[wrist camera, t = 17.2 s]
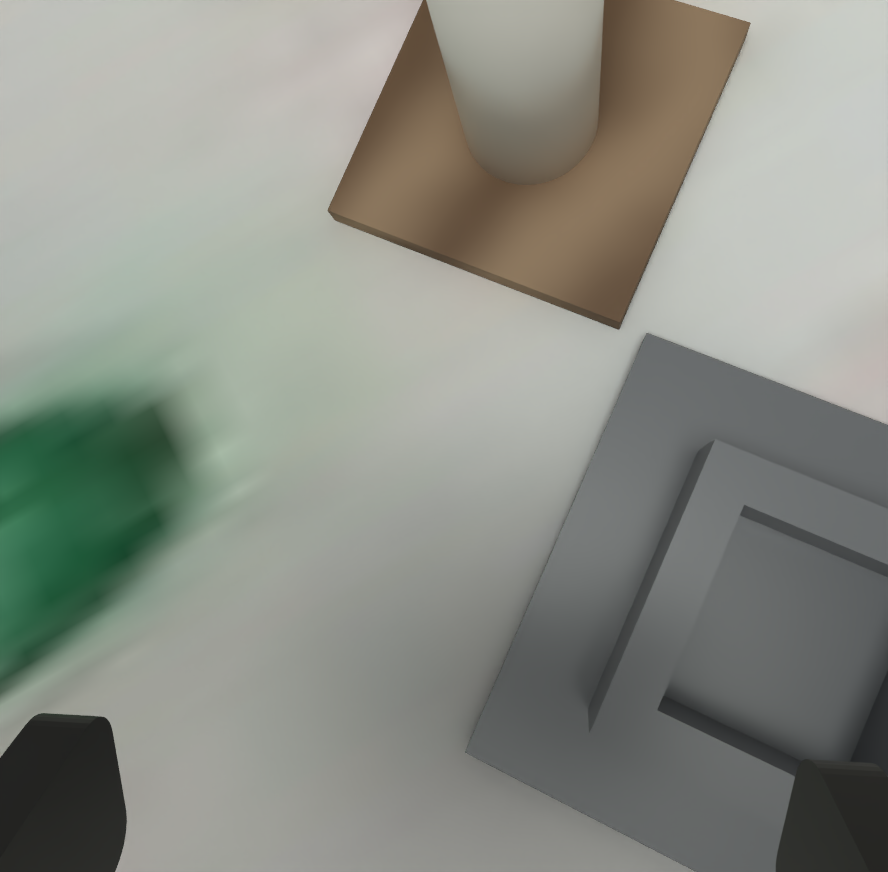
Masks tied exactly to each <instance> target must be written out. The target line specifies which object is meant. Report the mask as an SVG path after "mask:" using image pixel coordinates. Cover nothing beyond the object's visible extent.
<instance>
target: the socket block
mask: <svg viewBox="0 0 888 872" xmlns="http://www.w3.org/2000/svg"><path fill="white" fill-rule="evenodd" d="M465 753H467V754H469V755H471V756H473V757H475V758H477V759H479V760H481V761H482V762H484V763H486V764H488V765H490V766H492V767H494V768H496V769H498V770H500V771H502V772H504V773H506V774H508V775H510V776H512V777H513V778H515V779H517V780H519V781H521V782H523V783H525V784H527V785H529V786H531V787H533V788H535V789H537V790H539V791H541V792H543V793H544V794H546V795H548V796H550V797H552V798H554V799H556V800H558V801H560V802H562V803H564V804H566V805H568V806H570V807H572V808H574V809H576V810H577V811H579V812H581V813H583V814H585V815H587V816H589V817H591V818H593V819H595V820H597V821H599V822H601V823H603V824H605V825H607V826H608V827H610V828H612V829H614V830H616V831H618V832H620V833H622V834H624V835H626V836H628V837H630V838H632V839H634V840H636V841H638V842H639V843H641V844H643V845H645V846H647V847H649V848H651V849H653V850H655V851H657V852H659V853H661V854H663V855H665V856H667V857H669V858H670V859H672V860H674V861H676V862H678V863H680V864H682V865H684V866H686V867H688V868H690V869H692V870H694V871H696V872H776V857H777V852H778V848H779V843H780V839H781V835H782V831H783V826H784V822H785V818H786V813H787V809H788V805H789V801H790V796H791V792H792V788H793V784H794V779H795V775H796V772H797V768H798V766H799V764H800V763H801V762H802V761H803V760H805V759H812V760H830V761H848V762H865V763H874V764H876V765H878V766H879V767H880V768H881V769H882V770H883V771H884V772H885V774H886V775H887V777H888V425H886V424H884V423H881V422H878V421H876V420H873V419H871V418H868V417H865V416H863V415H860V414H857V413H855V412H852V411H850V410H847V409H844V408H842V407H839V406H837V405H834V404H831V403H829V402H826V401H824V400H821V399H818V398H816V397H813V396H811V395H808V394H805V393H803V392H800V391H797V390H795V389H792V388H790V387H787V386H784V385H782V384H779V383H777V382H774V381H771V380H769V379H766V378H764V377H761V376H758V375H756V374H753V373H750V372H748V371H745V370H743V369H740V368H737V367H735V366H732V365H730V364H727V363H724V362H722V361H719V360H717V359H714V358H711V357H709V356H706V355H704V354H701V353H698V352H696V351H693V350H690V349H688V348H685V347H683V346H680V345H677V344H675V343H672V342H670V341H667V340H664V339H662V338H659V337H657V336H654V335H651V334H649V333H646V336H645V338H644V340H643V343H642V345H641V347H640V350H639V352H638V354H637V357H636V359H635V361H634V363H633V366H632V368H631V370H630V373H629V375H628V377H627V380H626V382H625V384H624V386H623V389H622V391H621V393H620V396H619V398H618V400H617V403H616V405H615V407H614V410H613V412H612V414H611V416H610V419H609V421H608V423H607V426H606V428H605V430H604V433H603V435H602V437H601V440H600V442H599V444H598V446H597V449H596V451H595V453H594V456H593V458H592V460H591V463H590V465H589V467H588V469H587V472H586V474H585V476H584V479H583V481H582V483H581V486H580V488H579V490H578V493H577V495H576V497H575V499H574V502H573V504H572V506H571V509H570V511H569V513H568V516H567V518H566V520H565V523H564V525H563V527H562V529H561V532H560V534H559V536H558V539H557V541H556V543H555V546H554V548H553V550H552V553H551V555H550V557H549V559H548V562H547V564H546V566H545V569H544V571H543V573H542V576H541V578H540V580H539V582H538V585H537V587H536V589H535V592H534V594H533V596H532V599H531V601H530V603H529V606H528V608H527V610H526V612H525V615H524V617H523V619H522V622H521V624H520V626H519V629H518V631H517V633H516V636H515V638H514V640H513V642H512V645H511V647H510V649H509V652H508V654H507V656H506V659H505V661H504V663H503V666H502V668H501V670H500V672H499V675H498V677H497V679H496V682H495V684H494V686H493V689H492V691H491V693H490V695H489V698H488V700H487V702H486V705H485V707H484V709H483V712H482V714H481V716H480V719H479V721H478V723H477V725H476V728H475V730H474V732H473V735H472V737H471V739H470V742H469V744H468V746H467V749H466V751H465Z"/></svg>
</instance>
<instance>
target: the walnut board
mask: <svg viewBox="0 0 888 872" xmlns="http://www.w3.org/2000/svg"><path fill="white" fill-rule="evenodd" d="M750 24H751V23H750V22H746V21H743V20H739V19H736V18H733V17H729V16H726V15H722V14H719V13H716V12H712V11H709V10H706V9H702V8H699V7H695V6H692V5H689V4H685V3H682V2H678V1H675V0H604V11H603V32H602V53H601V74H600V94H599V115H598V127H597V131H596V135H595V138H594V141H593V143H592V145H591V147H590V149H589V151H588V152H587V153H586V155H585V156H584V158H583V159H582V160H581V161H580V162H579V163H578V164H577V165H576V166H575V167H574V168H572V169H571V170H570V171H568V172H567V173H565V174H564V175H562V176H560V177H558V178H556V179H554V180H551V181H548V182H545V183H540V184H533V185H519V184H513V183H509V182H505V181H502V180H500V179H498V178H496V177H494V176H492V175H491V174H489V173H488V172H487V171H485V170H484V169H483V168H482V167H481V166H480V165H479V164H478V163H477V162H476V160H475V159H474V157H473V156H472V154H471V152H470V150H469V147H468V144H467V141H466V138H465V134H464V131H463V127H462V124H461V120H460V117H459V113H458V110H457V106H456V103H455V99H454V96H453V92H452V89H451V85H450V82H449V78H448V75H447V71H446V68H445V65H444V61H443V58H442V54H441V51H440V47H439V44H438V40H437V37H436V33H435V30H434V26H433V23H432V19H431V16H430V12H429V9H428V5H427V2H426V0H423V2H422V4H421V6H420V8H419V10H418V13H417V15H416V17H415V19H414V21H413V24H412V26H411V28H410V30H409V32H408V35H407V37H406V39H405V41H404V43H403V46H402V48H401V50H400V52H399V54H398V57H397V59H396V61H395V63H394V65H393V68H392V70H391V72H390V74H389V76H388V78H387V81H386V83H385V85H384V87H383V89H382V92H381V94H380V96H379V98H378V100H377V103H376V105H375V107H374V109H373V111H372V114H371V116H370V118H369V120H368V122H367V125H366V127H365V129H364V131H363V133H362V136H361V138H360V140H359V142H358V144H357V147H356V149H355V151H354V153H353V155H352V158H351V160H350V162H349V164H348V166H347V169H346V171H345V173H344V175H343V177H342V180H341V182H340V184H339V186H338V188H337V190H336V193H335V195H334V197H333V199H332V201H331V204H330V206H329V208H328V212H329V213H330V214H331V216H332V217H333V218H334V219H335V220H336V221H339V222H341V223H344V224H346V225H349V226H351V227H354V228H357V229H359V230H362V231H364V232H367V233H370V234H372V235H375V236H377V237H380V238H383V239H385V240H388V241H390V242H393V243H396V244H398V245H401V246H403V247H406V248H409V249H411V250H414V251H416V252H419V253H422V254H424V255H427V256H429V257H432V258H435V259H437V260H440V261H442V262H445V263H448V264H450V265H453V266H455V267H458V268H461V269H463V270H466V271H468V272H471V273H473V274H476V275H479V276H481V277H484V278H486V279H489V280H492V281H494V282H497V283H499V284H502V285H505V286H507V287H510V288H512V289H515V290H518V291H520V292H523V293H525V294H528V295H531V296H533V297H536V298H538V299H541V300H544V301H546V302H549V303H551V304H554V305H557V306H559V307H562V308H564V309H567V310H570V311H572V312H575V313H577V314H580V315H583V316H585V317H588V318H590V319H593V320H595V321H598V322H601V323H603V324H606V325H608V326H611V327H614V328H616V329H619V328H620V326H621V323H622V321H623V319H624V316H625V314H626V312H627V310H628V307H629V305H630V303H631V300H632V298H633V296H634V294H635V291H636V289H637V287H638V284H639V282H640V280H641V277H642V275H643V273H644V271H645V268H646V266H647V264H648V261H649V259H650V257H651V254H652V252H653V250H654V248H655V245H656V243H657V241H658V238H659V236H660V234H661V232H662V229H663V227H664V225H665V222H666V220H667V218H668V215H669V213H670V211H671V209H672V206H673V204H674V202H675V199H676V197H677V195H678V192H679V190H680V188H681V186H682V183H683V181H684V179H685V176H686V174H687V172H688V169H689V167H690V165H691V163H692V160H693V158H694V156H695V153H696V151H697V149H698V147H699V144H700V142H701V140H702V137H703V135H704V133H705V130H706V128H707V126H708V124H709V121H710V119H711V117H712V114H713V112H714V110H715V107H716V105H717V103H718V101H719V98H720V96H721V94H722V91H723V89H724V87H725V84H726V82H727V80H728V78H729V75H730V73H731V71H732V68H733V66H734V64H735V62H736V59H737V57H738V55H739V52H740V50H741V48H742V45H743V43H744V41H745V38H746V35H747V32H748V29H749V26H750Z"/></svg>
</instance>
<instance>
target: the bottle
mask: <svg viewBox="0 0 888 872" xmlns="http://www.w3.org/2000/svg"><path fill="white" fill-rule="evenodd" d="M426 2H427V5H428V9H429V12H430V16H431V19H432V23H433V26H434V30H435V33H436V37H437V40H438V44H439V47H440V51H441V54H442V58H443V61H444V65H445V68H446V71H447V75H448V78H449V82H450V85H451V89H452V92H453V96H454V99H455V103H456V106H457V110H458V113H459V117H460V120H461V124H462V127H463V131H464V134H465V138H466V141H467V144H468V147H469V150H470V152H471V154H472V156H473V157H474V159H475V160H476V162H477V163H478V164H479V165H480V166H481V167H482V168H483V169H484V170H485V171H487V172H488V173H489V174H491V175H492V176H494V177H496V178H498V179H500V180H502V181H505V182H509V183H513V184H519V185H533V184H540V183H545V182H548V181H551V180H554V179H556V178H558V177H560V176H562V175H564V174H565V173H567V172H568V171H570V170H571V169H572V168H574V167H575V166H576V165H577V164H578V163H579V162H580V161H581V160H582V159H583V158H584V156H585V155H586V153H587V152H588V151H589V149H590V147H591V145H592V143H593V141H594V138H595V135H596V131H597V127H598V115H599V94H600V74H601V53H602V32H603V11H604V0H426Z"/></svg>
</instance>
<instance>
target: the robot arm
mask: <svg viewBox="0 0 888 872" xmlns="http://www.w3.org/2000/svg"><path fill="white" fill-rule="evenodd" d="M126 823H127V817H126V807H125V802H124V796H123V790H122V784H121V778H120V772H119V767H118V761H117V755H116V749H115V743H114V737H113V732H112V728H111V725H110V722H109V721H108V720H107V719H106V718H105V717H98V716H81V715H63V714H46V713H42V714H38V715H36V716H34V717H33V718H32V719H31V720H30V721H29V722H28V723H27V724H26V725H25V726H24V728H23V729H22V730H21V732H20V733H19V734H18V736H17V737H16V738H15V739H14V741H13V742H12V743H11V745H10V746H9V747H8V749H7V750H6V751H5V753H4V754H3V755H2V756H1V758H0V872H115V870H116V868H117V865H118V862H119V860H120V856H121V853H122V849H123V845H124V840H125V834H126ZM776 872H888V777H887V775H886V774H885V772H884V771H883V770H882V769H881V768H880V767H879V766H878V765H876V764H874V763H865V762H848V761H830V760H812V759H805V760H803V761H802V762H801V763H800V764H799V766H798V768H797V772H796V775H795V779H794V784H793V788H792V792H791V796H790V801H789V805H788V809H787V813H786V818H785V822H784V826H783V831H782V835H781V839H780V843H779V848H778V852H777V857H776Z"/></svg>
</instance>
